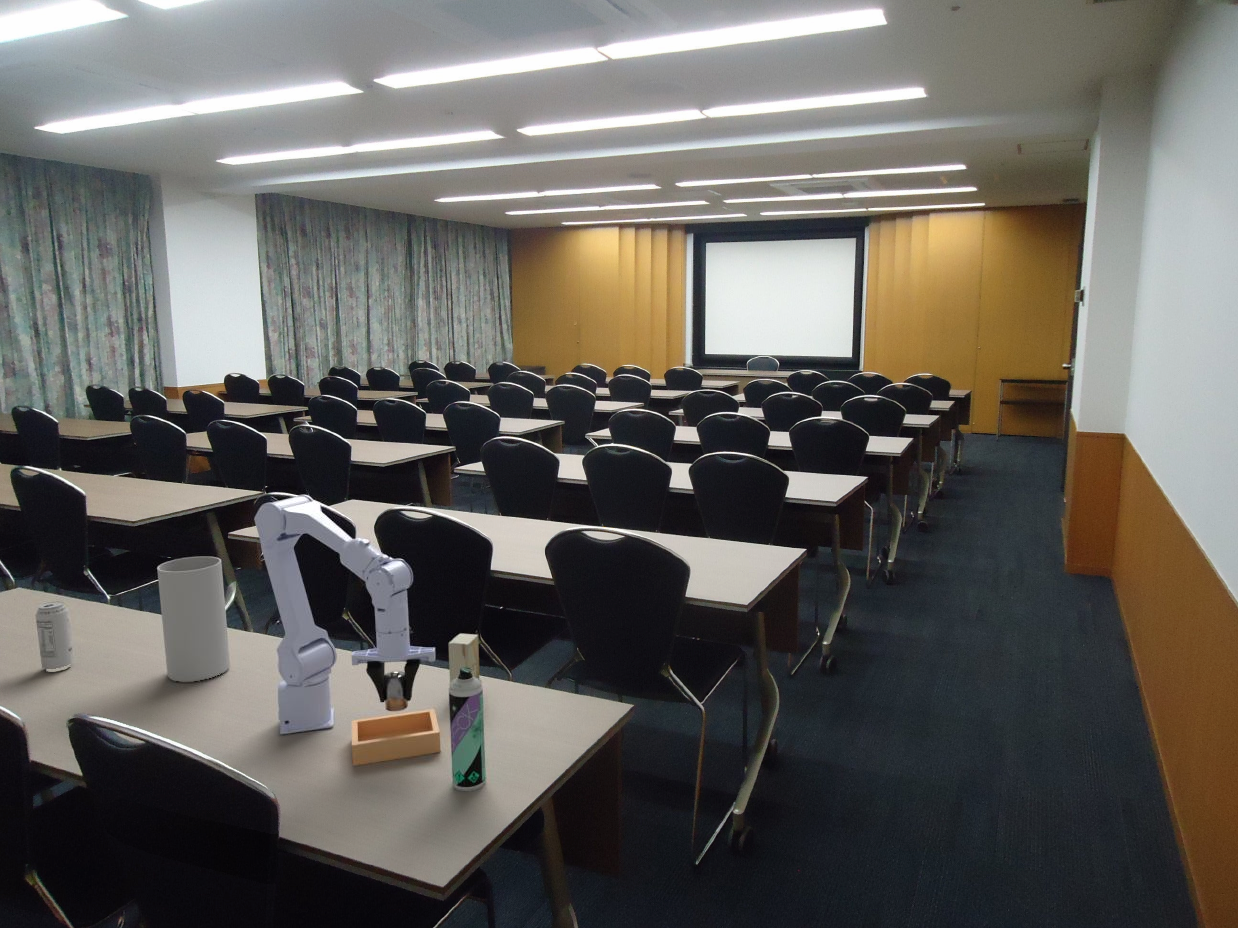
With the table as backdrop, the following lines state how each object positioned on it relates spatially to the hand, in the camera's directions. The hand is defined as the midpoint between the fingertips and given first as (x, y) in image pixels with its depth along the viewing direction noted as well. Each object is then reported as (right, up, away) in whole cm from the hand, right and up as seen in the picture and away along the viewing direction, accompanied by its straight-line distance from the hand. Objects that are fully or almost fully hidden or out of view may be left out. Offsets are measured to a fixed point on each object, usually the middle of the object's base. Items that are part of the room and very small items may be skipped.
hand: (396, 699), depth 152 cm
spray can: (+16, -11, -13) cm, 23 cm away
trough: (0, -9, 0) cm, 8 cm away
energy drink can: (-87, -4, +37) cm, 94 cm away
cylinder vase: (-53, -4, +34) cm, 63 cm away
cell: (0, -1, 0) cm, 2 cm away
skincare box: (+9, -5, +22) cm, 24 cm away
